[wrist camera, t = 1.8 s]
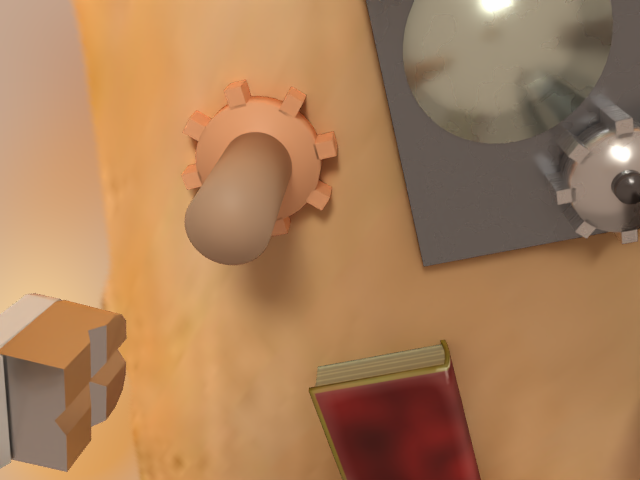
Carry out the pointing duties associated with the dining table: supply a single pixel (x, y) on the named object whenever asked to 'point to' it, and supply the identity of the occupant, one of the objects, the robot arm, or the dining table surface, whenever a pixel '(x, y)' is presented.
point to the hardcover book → (396, 417)
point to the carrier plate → (513, 119)
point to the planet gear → (252, 173)
